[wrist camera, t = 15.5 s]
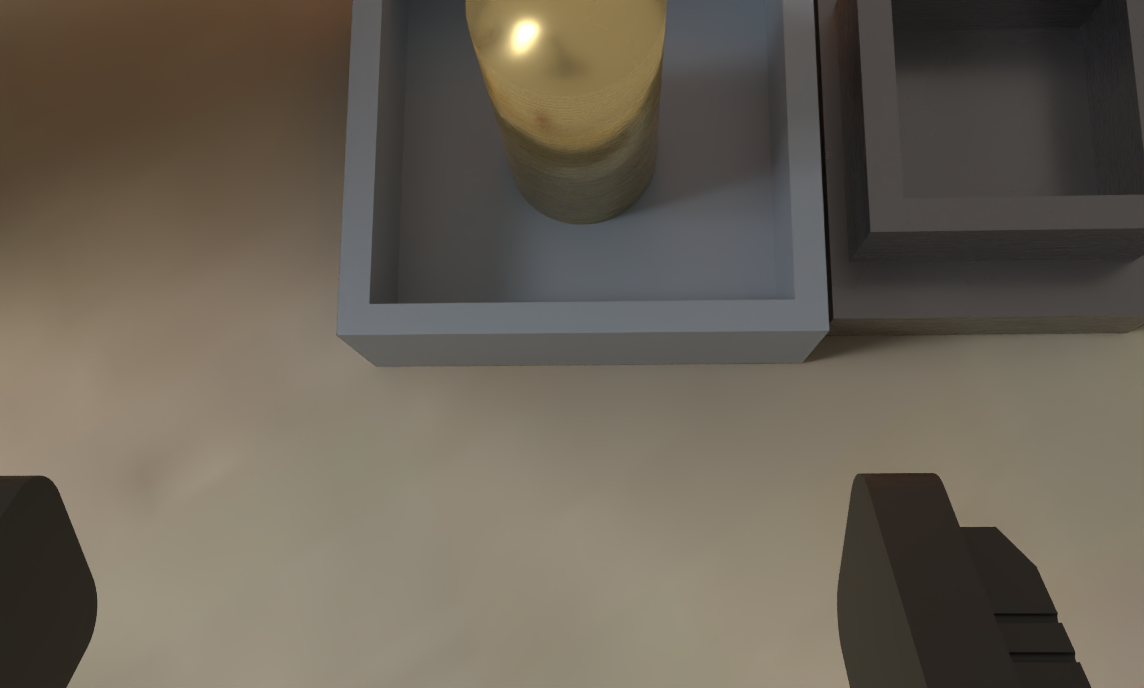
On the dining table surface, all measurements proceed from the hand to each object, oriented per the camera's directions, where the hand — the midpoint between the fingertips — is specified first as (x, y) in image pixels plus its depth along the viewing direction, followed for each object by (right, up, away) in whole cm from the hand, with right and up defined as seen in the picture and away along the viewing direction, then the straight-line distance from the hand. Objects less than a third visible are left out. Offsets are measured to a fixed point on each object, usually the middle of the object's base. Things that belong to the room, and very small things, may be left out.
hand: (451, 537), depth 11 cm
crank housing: (+12, +9, +19) cm, 24 cm away
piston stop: (+2, +7, +18) cm, 20 cm away
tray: (+2, +7, +19) cm, 20 cm away
